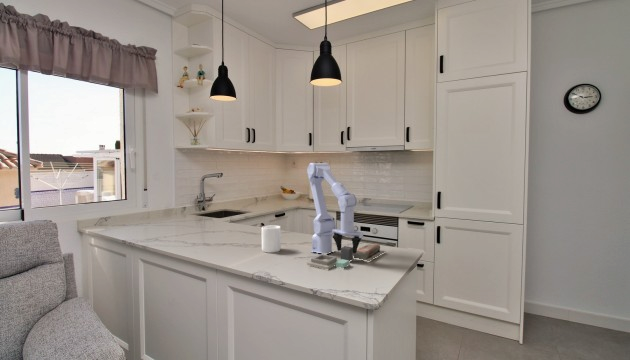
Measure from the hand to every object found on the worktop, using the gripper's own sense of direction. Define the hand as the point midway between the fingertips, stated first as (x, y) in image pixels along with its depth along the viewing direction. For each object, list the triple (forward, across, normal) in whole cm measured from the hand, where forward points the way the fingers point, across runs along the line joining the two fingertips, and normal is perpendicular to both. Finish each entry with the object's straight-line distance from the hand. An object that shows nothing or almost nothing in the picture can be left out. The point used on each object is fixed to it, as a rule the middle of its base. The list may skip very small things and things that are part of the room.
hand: (346, 251), depth 136 cm
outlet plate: (+4, -6, -9) cm, 12 cm away
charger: (+4, 0, 0) cm, 4 cm away
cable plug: (+4, +2, -8) cm, 9 cm away
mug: (+4, -40, -6) cm, 41 cm away
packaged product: (+5, +5, +13) cm, 14 cm away
